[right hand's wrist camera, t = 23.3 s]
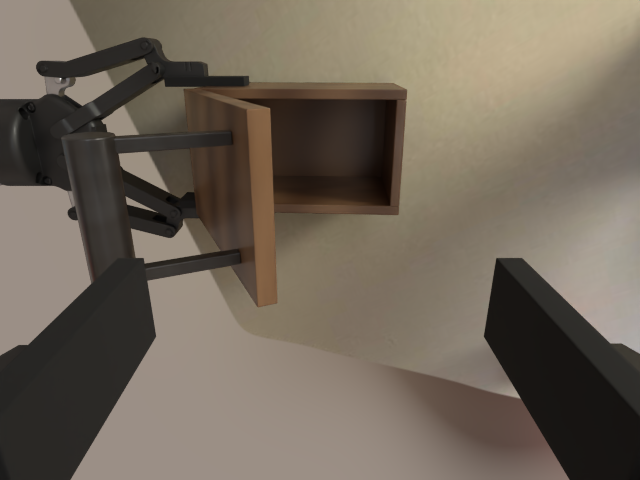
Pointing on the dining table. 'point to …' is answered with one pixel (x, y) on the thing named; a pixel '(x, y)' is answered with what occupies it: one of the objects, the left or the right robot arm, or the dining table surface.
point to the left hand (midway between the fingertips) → (250, 143)
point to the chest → (332, 144)
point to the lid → (209, 186)
